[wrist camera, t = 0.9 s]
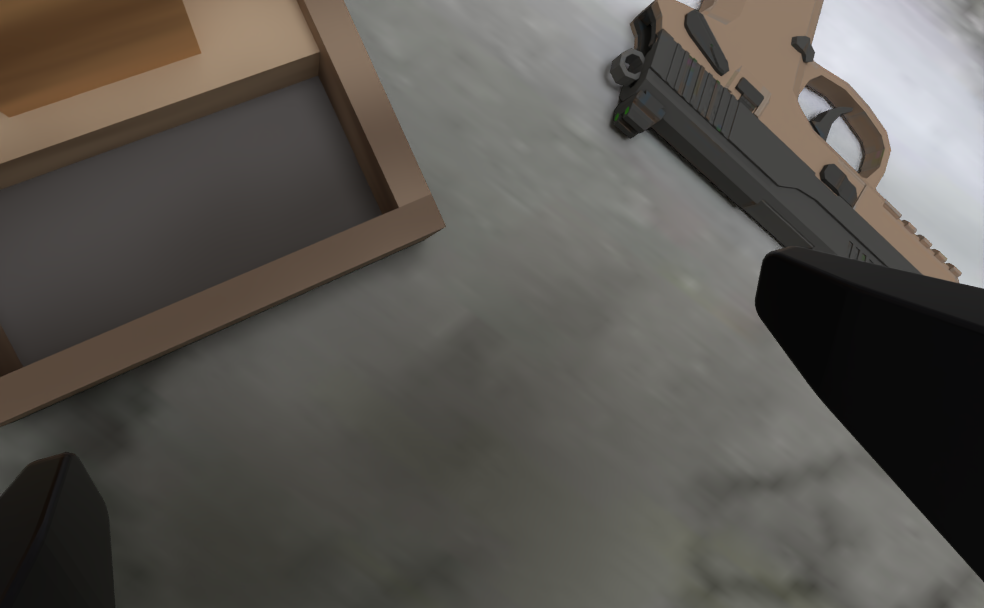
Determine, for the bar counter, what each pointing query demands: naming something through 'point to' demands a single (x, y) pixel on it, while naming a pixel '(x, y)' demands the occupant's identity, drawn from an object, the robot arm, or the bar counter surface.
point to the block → (84, 46)
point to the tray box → (196, 196)
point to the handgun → (766, 125)
